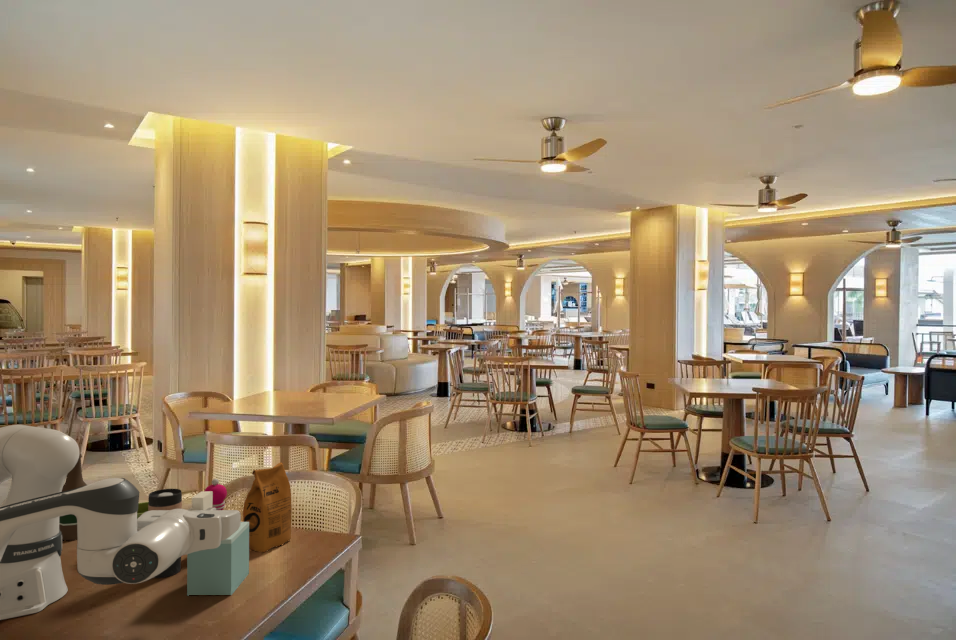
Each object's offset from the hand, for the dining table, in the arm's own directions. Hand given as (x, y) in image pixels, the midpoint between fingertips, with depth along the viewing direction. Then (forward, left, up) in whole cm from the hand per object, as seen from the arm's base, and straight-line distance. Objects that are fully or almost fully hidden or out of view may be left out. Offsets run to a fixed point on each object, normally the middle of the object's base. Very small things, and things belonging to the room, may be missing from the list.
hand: (204, 510), depth 136 cm
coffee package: (+26, +25, -21) cm, 42 cm away
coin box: (+6, +8, -21) cm, 23 cm away
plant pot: (0, +45, -21) cm, 50 cm away
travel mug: (-1, +24, -21) cm, 32 cm away
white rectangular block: (-1, -1, -5) cm, 5 cm away
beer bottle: (-13, +68, -21) cm, 72 cm away
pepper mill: (+13, +29, -21) cm, 38 cm away
